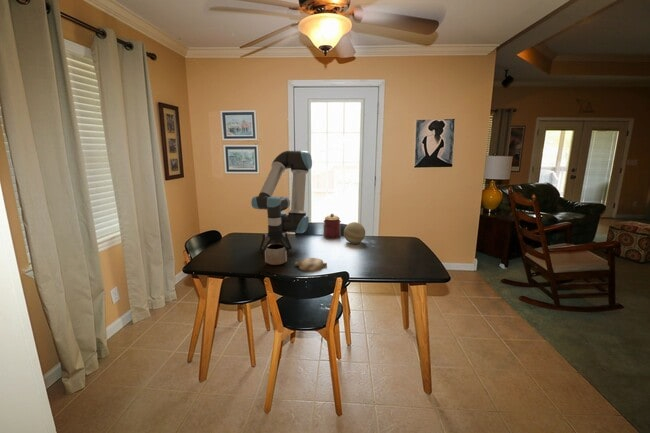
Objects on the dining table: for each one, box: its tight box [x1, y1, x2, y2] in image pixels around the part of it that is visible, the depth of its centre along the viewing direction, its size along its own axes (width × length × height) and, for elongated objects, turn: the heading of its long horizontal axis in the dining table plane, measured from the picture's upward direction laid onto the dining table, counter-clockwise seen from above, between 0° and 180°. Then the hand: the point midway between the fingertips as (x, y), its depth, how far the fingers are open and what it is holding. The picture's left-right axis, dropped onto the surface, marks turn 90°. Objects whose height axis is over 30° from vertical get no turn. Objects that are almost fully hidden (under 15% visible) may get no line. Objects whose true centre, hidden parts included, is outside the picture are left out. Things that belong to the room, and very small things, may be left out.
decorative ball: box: [343, 221, 366, 245], centre depth 215 cm, size 15×15×15 cm
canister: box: [323, 213, 342, 239], centre depth 231 cm, size 13×13×18 cm
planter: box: [266, 243, 286, 266], centre depth 177 cm, size 11×11×10 cm
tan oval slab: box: [294, 257, 328, 272], centre depth 174 cm, size 18×14×2 cm
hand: (276, 261), depth 178 cm, fingers closed on planter, 11 cm apart
